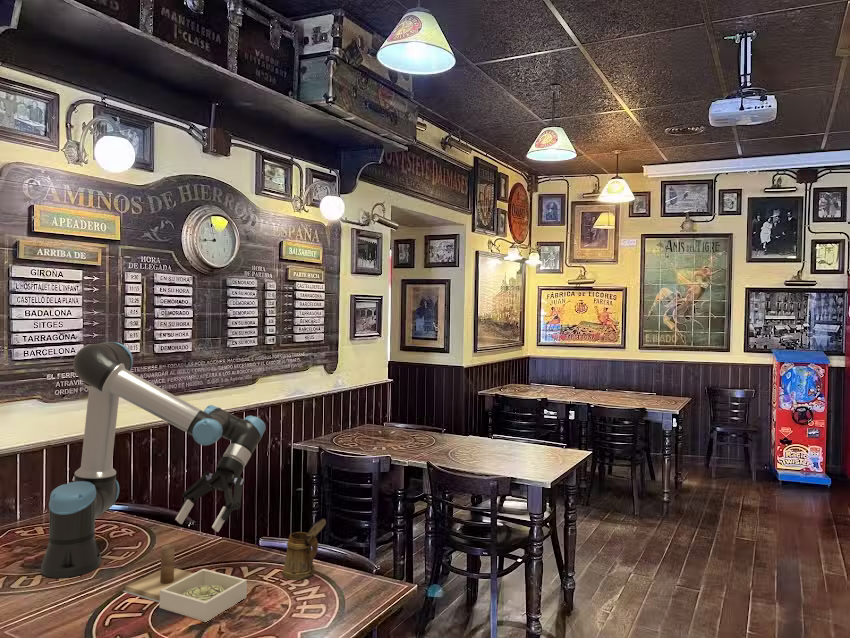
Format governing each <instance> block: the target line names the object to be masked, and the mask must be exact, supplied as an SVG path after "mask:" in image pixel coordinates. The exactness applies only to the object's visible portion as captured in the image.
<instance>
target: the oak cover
mask: <svg viewBox="0 0 850 638" xmlns="http://www.w3.org/2000/svg"><path fill="white" fill-rule="evenodd" d="M175 549H176V548H175V545H174V544H164V545H162V546H160V569H159V570H157V571H155V572H152V573H151V574H148V575H146V576H145V577H142V578H140V579H137V580H136V581H134V582H132V583H129V584H126V585H125V586H124V587H125V588H124V590H125V591H129V592H132V593H135V594H139V595H142V596H146V597H149V598H152V599H156V600H159V601H160V590H162V589H164V588H166V587H168V586H170V585H172V584H174V583H176V582H178V581H180V580H182V579H184V578H186V577H188V576H190V575H192V574H194V573H195V572H190V571H187V570H183V569H179V568H175Z"/></svg>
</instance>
